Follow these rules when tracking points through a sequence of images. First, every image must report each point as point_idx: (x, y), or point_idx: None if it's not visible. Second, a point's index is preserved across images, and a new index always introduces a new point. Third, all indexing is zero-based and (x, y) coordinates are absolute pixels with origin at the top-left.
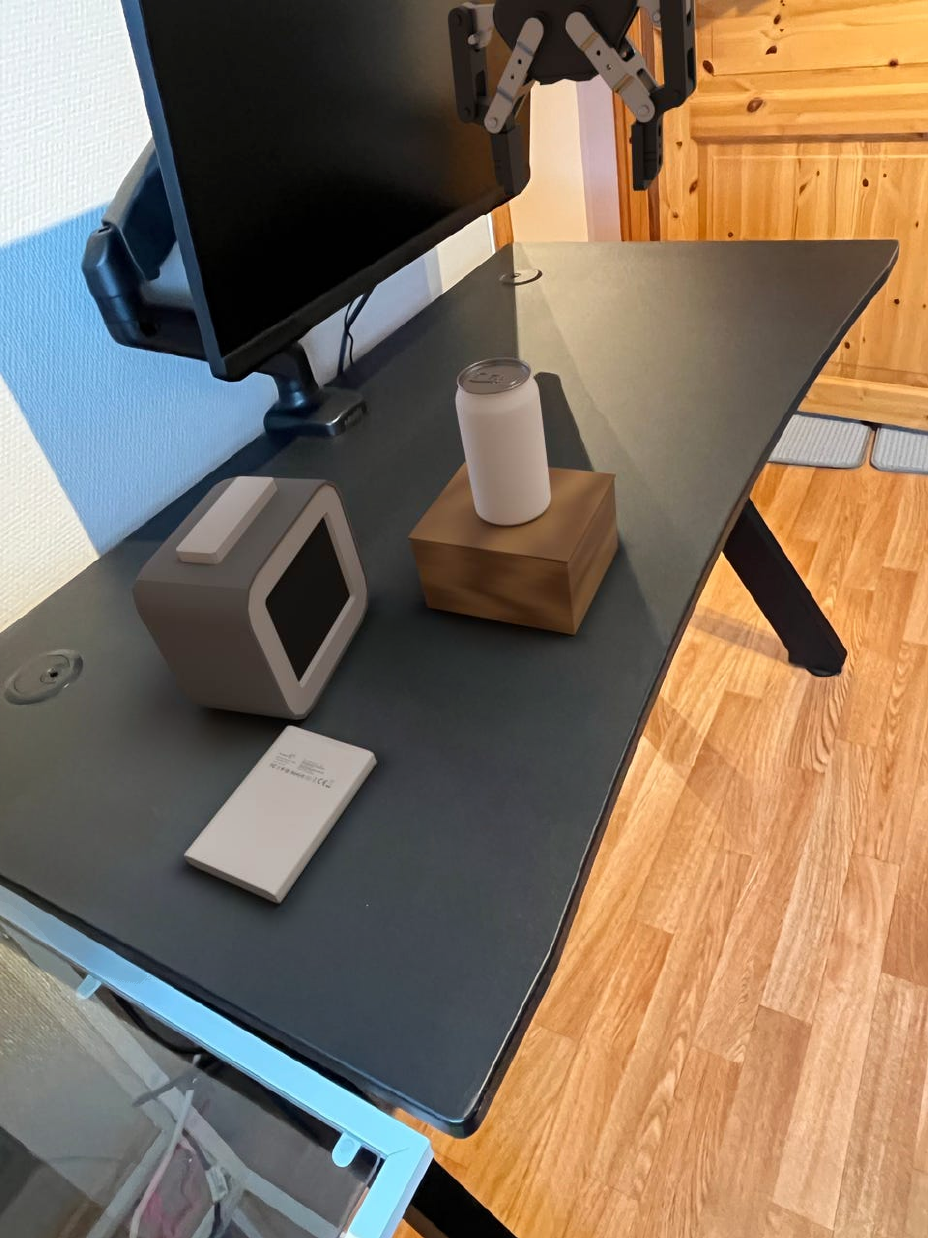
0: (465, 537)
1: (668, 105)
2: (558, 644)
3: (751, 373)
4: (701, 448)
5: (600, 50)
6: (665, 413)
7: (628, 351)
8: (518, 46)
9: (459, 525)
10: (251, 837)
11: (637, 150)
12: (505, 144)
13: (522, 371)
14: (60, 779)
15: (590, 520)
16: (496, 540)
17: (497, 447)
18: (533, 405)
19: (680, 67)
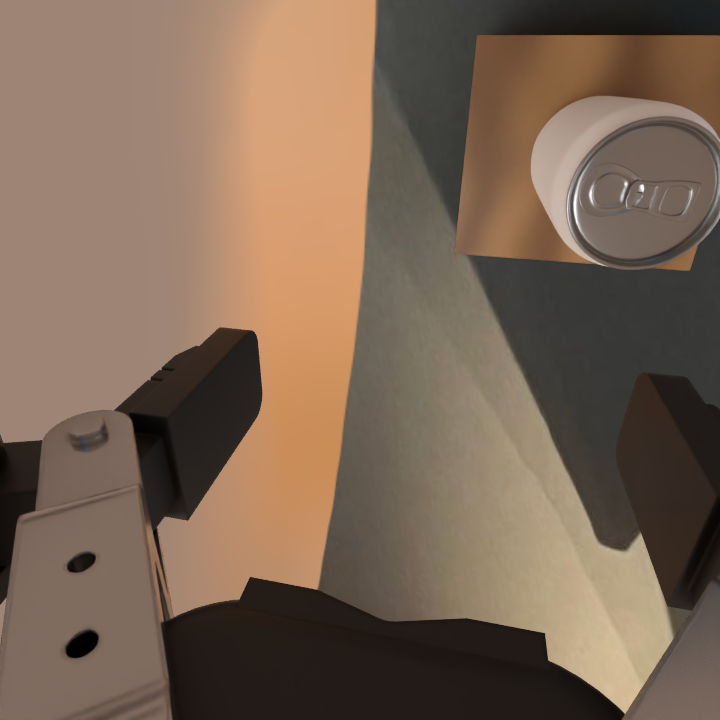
0: (654, 58)
1: (21, 449)
2: (496, 23)
3: (380, 527)
4: (404, 407)
5: (58, 649)
6: (455, 466)
7: (519, 578)
8: None
9: (671, 89)
10: None
11: (189, 374)
12: (716, 468)
13: (586, 228)
14: None
15: (466, 142)
16: (598, 62)
17: (612, 102)
18: (553, 171)
19: None
